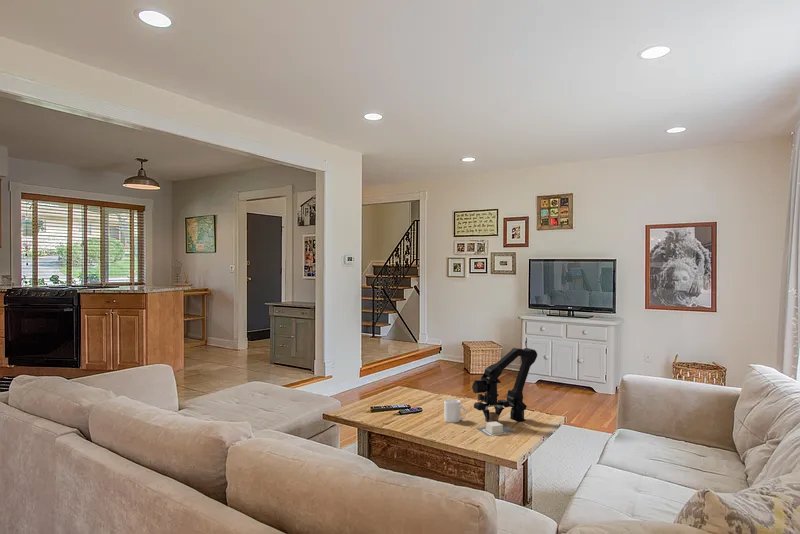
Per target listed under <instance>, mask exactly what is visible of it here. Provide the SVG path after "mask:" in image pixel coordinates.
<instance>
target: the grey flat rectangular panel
mask: <svg viewBox="0 0 800 534" xmlns="http://www.w3.org/2000/svg"><path fill="white" fill-rule="evenodd" d="M502 425H503V433H500V434H493V435H492V434H490V433H489V432H487V431H486V426H482V427H477V428H475V429H476V430H478V431H479V432H481V433H482V434H483V435H485V436H487V437H493V436H500V435H507V434H513V433H516V431H514V430H513V429H511V428H510V427H508V426H506V425H505V424H502Z"/></svg>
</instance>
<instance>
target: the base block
mask: <svg viewBox="0 0 800 534" xmlns="http://www.w3.org/2000/svg"><path fill="white" fill-rule="evenodd" d="M503 425H504V424H502V423H500V422H499V421H498V422H497V421H495V422H485V427H486V431H487V432H489V433H490V434H492V435H493V434H500V433H503Z"/></svg>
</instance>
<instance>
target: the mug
mask: <svg viewBox="0 0 800 534" xmlns="http://www.w3.org/2000/svg"><path fill="white" fill-rule="evenodd" d="M443 401H444V402H443V403H444V408H443V412H444V413H443V414H444V416H443V419H444V421H445V422H446V423H449V424H453V423H460V422H461V421H462V420H464V419H465V417H466V414H467V411H466V408H465V407H464V406H463V405H462V404H461V400H459V399H457V398H447V399H445V400H443ZM461 409H462V410H463V411H464V415H463V416H462V415H461Z"/></svg>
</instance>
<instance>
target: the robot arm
mask: <svg viewBox="0 0 800 534" xmlns="http://www.w3.org/2000/svg"><path fill="white" fill-rule="evenodd" d="M518 357H520V361H521V363H520V366H519V370H518V373H517V377H516V379H515V382H514V384H513V385H514V386H513V388H512V389H508V391H507V394H506V399H498V397H499V394H498V384H501V383H502V381H501V380H500V379H499V378H500V376H501V375H502V373H503V371H504V369H506V368H507V367H508V366H509V365H510V364H511V363H512V362H514V361H515V360H516V359H517V358H518ZM537 357H538V353H537V351H536V350H535V349H532V348H529V347H525V348H517V347H513V348H512V349H511V350H510V351H509V352H507V353H506V354H505V355H504V356H503V357H502V358H501V359H500V360H498V361H497V362H496V363H493V364H491V365H489V366H487V367H486V368H485V369H484V372H483V374H482V376H481V377H480V379H474V381H473V383H472V386H471V387H472V392H473V393H474V394H477V399H478V400H477V401H478V402H474V404H473V408H474V409H475V410H477V411H481V412H483V415H484V417H485V418H486V421H487V422H488V420H489V412H490V409H489V408H491V407H494V412H495V413H497V414H498V419H499V418H500V416H501V414H502V412H503V410H505V408H510V417H509V419H510V420H512V421H514V422H516V423H518V422H524V421H527V419H526V418H525V411H526V410H527V405H526V404H525V402H523V401H524V394H523V390H524V388H525V384H526V381H527V378H528V375H529V372H530V368H531V366H532V365H533V364H534V363H535V362H536V360H537ZM486 421H485V422H486ZM487 422H486V423H487Z"/></svg>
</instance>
